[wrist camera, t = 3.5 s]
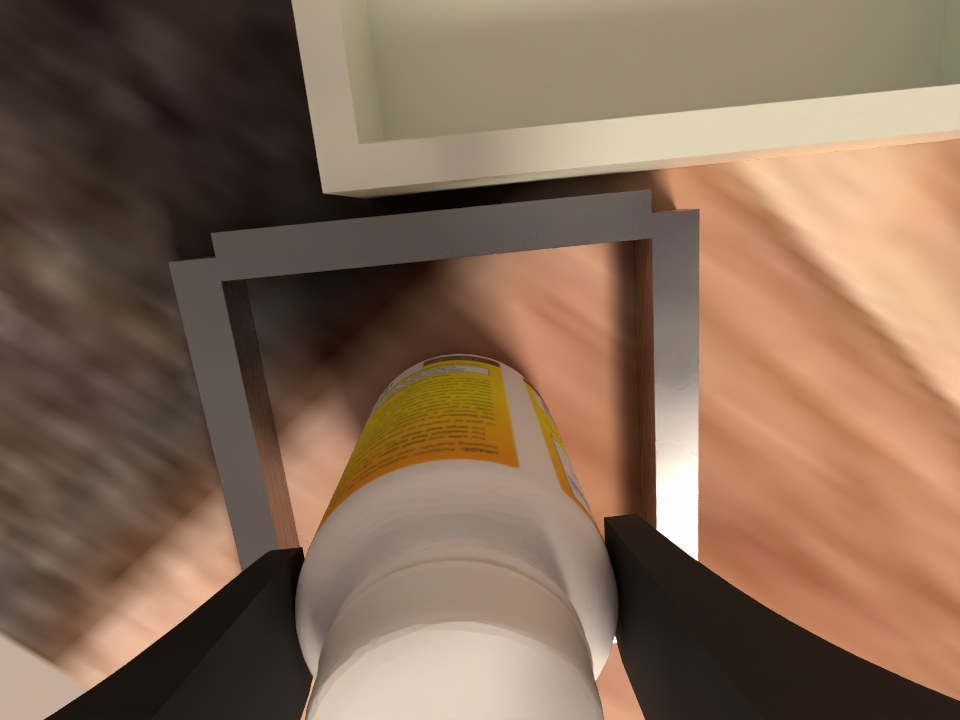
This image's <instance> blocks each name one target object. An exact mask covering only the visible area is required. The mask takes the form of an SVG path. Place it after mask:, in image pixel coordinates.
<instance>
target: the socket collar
mask: <svg viewBox="0 0 960 720" xmlns="http://www.w3.org/2000/svg"><path fill="white" fill-rule="evenodd" d="M211 237H212V242H213V247H214V251H215V256H205V257H196V258H190V259H184V260H178V261H173V262H168V263H169V267H170V271H171V276H172V280H173V284H174V288H175V292H176V297H177V301H178V305H179V309H180V313H181V318H182V322H183V326H184V330H185V334H186V338H187V343H188V347H189V351H190V355H191V359H192V364H193V368H194V372H195V376H196V380H197V384H198V389H199V393H200V397H201V401H202V405H203V410H204V414H205V418H206V422H207V426H208V430H209V435H210V439H211V443H212V447H213V451H214V456H215V460H216V464H217V468H218V472H219V477H220V481H221V485H222V489H223V493H224V497H225V502H226V506H227V510H228V514H229V518H230V523H231V527H232V531H233V535H234V539H235V543H236V548H237V552H238V556H239V560H240V564H241V569H242V572H243V571H244V570H245V569H246V568H247V567H249V566H250V565H251V564H252V563H254V562H255V561H256V560H257V559H259V558H260V557H261V556H263V555H264V554H266V553H267V552H268V551H270V550H279V549H289V548H299V542H298V537H297V532H296V527H295V522H294V518H293V513H292V508H291V503H290V498H289V493H288V488H287V484H286V479H285V474H284V469H283V464H282V459H281V454H280V449H279V445H278V440H277V435H276V430H275V425H274V420H273V415H272V411H271V406H270V401H269V396H268V391H267V386H266V381H265V376H264V372H263V367H262V362H261V357H260V352H259V347H258V342H257V338H256V333H255V328H254V323H253V318H252V313H251V308H250V303H249V299H248V294H247V289H246V284H245V279H249V278H259V277H269V276H279V275H289V274H299V273H309V272H319V271H329V270H339V269H349V268H359V267H369V266H379V265H389V264H399V263H409V262H419V261H429V260H439V259H449V258H459V257H469V256H479V255H489V254H499V253H509V252H519V251H529V250H539V249H549V248H559V247H569V246H579V245H589V244H599V243H609V242H619V241H629V240H635V260H636V301H637V343H638V384H639V425H640V467H641V508H642V519H644V520H645V521H646V522H648V523H649V524H650V525H651V526H653V527H654V528H655V529H657V530H658V531H659V532H660V533H662V534H663V535H664V536H666V537H667V538H668V539H669V540H671V541H672V542H673V543H675V544H676V545H677V546H679V547H680V548H681V549H682V550H684V551H685V552H686V553H688V554H689V555H690V556H692V557H693V558H694V559H696V560H697V561H698V388H699V209H675V210H665V211H655V212H652V193H651V189H646V190H636V191H626V192H616V193H606V194H596V195H586V196H576V197H566V198H556V199H546V200H536V201H526V202H516V203H506V204H496V205H486V206H476V207H466V208H456V209H446V210H436V211H426V212H416V213H406V214H396V215H386V216H376V217H366V218H356V219H346V220H336V221H326V222H316V223H306V224H297V225H287V226H277V227H267V228H257V229H247V230H237V231H227V232H217V233H211ZM616 642H617V641H616V638H615V637H614V641H613V643H616Z"/></svg>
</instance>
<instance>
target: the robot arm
mask: <svg viewBox="0 0 960 720" xmlns="http://www.w3.org/2000/svg"><path fill="white" fill-rule="evenodd" d="M604 528H605V546H606V548H607V551H608V554H609V557H610V561H611V564H612V567H613V570H614V574H615V578H616V583H617V591H618V620H617V627H616V632H615V638H616V641H617V645H618V648H619V652H620V655H621V659H622V662H623V665H624V668H625V670H626V673H627V675H628V678H629V680H630V683H631V685H632V688H633V690H634V693H635V695H636V698H637V700H638V703H639V705H640V708H641V710H642V713H643V715H644V718H645V720H960V701H959V700H956V699H953V698H951V697H948V696H946V695H944V694H941V693H939V692H936V691H934V690H932V689H929V688H927V687H924V686H922V685H920V684H917V683H915V682H912V681H910V680H908V679H906V678H903V677H901V676H899V675H897V674H895V673H893V672H890V671H888V670H886V669H884V668H882V667H879V666H877V665H875V664H873V663H871V662H869V661H866V660H864V659H862V658H860V657H858V656H856V655H854V654H852V653H850V652H848V651H846V650H844V649H842V648H840V647H838V646H836V645H834V644H832V643H830V642H828V641H826V640H824V639H822V638H820V637H819V636H817V635H815V634H813V633H811V632H809V631H808V630H806V629H804V628H802V627H800V626H798V625H797V624H795V623H793V622H791V621H789V620H787V619H786V618H784V617H782V616H781V615H779V614H777V613H775V612H774V611H772V610H770V609H769V608H767V607H765V606H764V605H762V604H761V603H759V602H758V601H756V600H755V599H753V598H751V597H750V596H748V595H747V594H745V593H744V592H742V591H740V590H739V589H737V588H736V587H734V586H733V585H731V584H730V583H728V582H727V581H725V580H724V579H723V578H721V577H720V576H718V575H717V574H715V573H714V572H712V571H711V570H710V569H708V568H707V567H705V566H704V565H703V564H701V563H700V562H699V561H697V560H696V559H694V558H693V557H692V556H690V555H689V554H688V553H686V552H685V551H684V550H682V549H681V548H680V547H679V546H677V545H676V544H675V543H673V542H672V541H671V540H669V539H668V538H667V537H666V536H664V535H663V534H662V533H660V532H659V531H658V530H657V529H655V528H654V527H653V526H651V525H650V524H649V523H648V522H646V521H645V520H644V519H642V518H641V517H640V516H638V515H637V514H634V515H623V516H613V517H604ZM304 560H305V558H304V553H303V548H302V547H299V548H289V549H279V550H270V551H268V552H267V553H266V554H264V555H263V556H261V557H260V558H259V559H257V560H256V561H255V562H254V563H252V564H251V565H250V566H249V567H247V568H246V569H245V570H244V571H243V572H241V573H240V574H239V575H238V576H236V577H235V578H234V579H233V580H232V581H230V582H229V583H228V584H227V585H226V586H224V587H223V588H222V589H221V590H220V591H218V592H217V593H216V594H215V595H214V596H212V597H211V598H210V599H209V600H208V601H206V602H205V603H204V604H203V605H201V606H200V607H199V608H198V609H197V610H195V611H194V612H193V613H192V614H190V615H189V616H188V617H187V618H186V619H184V620H183V621H182V622H181V623H179V624H178V625H177V626H175V627H174V628H173V629H171V630H170V631H169V632H168V633H166V634H165V635H164V636H162V637H161V638H160V639H158V640H157V641H156V642H155V643H153V644H152V645H151V646H149V647H148V648H147V649H145V650H144V651H143V652H141V653H140V654H139V655H138V656H136V657H135V658H134V659H132V660H131V661H130V662H128V663H127V664H126V665H124V666H123V667H122V668H120V669H119V670H117V671H116V672H115V673H113V674H112V675H110V676H109V677H107V678H106V679H105V680H103V681H102V682H100V683H99V684H97V685H96V686H95V687H93V688H92V689H90V690H89V691H87V692H86V693H84V694H82V695H81V696H79V697H78V698H76V699H75V700H73V701H72V702H70V703H69V704H67V705H66V706H64V707H63V708H61V709H60V710H58V711H57V712H55V713H54V714H52V715H51V716H49V717H47V718H46V719H44V720H300V719H301V716H302V713H303V711H304V708H305V705H306V701H307V698H308V695H309V692H310V688H311V683H312V679H313V676H312V674H311V672H310V670H309V668H308V666H307V664H306V662H305V660H304V657H303V653H302V650H301V647H300V644H299V639H298V635H297V630H296V620H295V599H296V591H297V585H298V579H299V576H300V572H301V569H302V566H303V563H304Z"/></svg>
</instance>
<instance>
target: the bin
mask: <svg viewBox="0 0 960 720" xmlns="http://www.w3.org/2000/svg"><path fill="white" fill-rule="evenodd" d="M291 1H292V7H293V13H294V19H295V25H296V31H297V38H298V44H299V50H300V56H301V62H302V68H303V74H304V81H305V87H306V93H307V99H308V105H309V111H310V117H311V124H312V130H313V136H314V142H315V148H316V154H317V160H318V167H319V173H320V179H321V185H322V191H323V193H324V194H332V195H340V196H349V197H357V198H365V199H368V198H378V197H388V196H398V195H408V194H418V193H428V192H438V191H448V190H458V189H468V188H478V187H488V186H497V185H507V184H517V183H527V182H537V181H547V180H557V179H567V178H577V177H587V176H597V175H607V174H617V173H627V172H637V171H647V170H657V169H667V168H677V167H687V166H697V165H707V164H717V163H727V162H737V161H747V160H757V159H767V158H777V157H787V156H797V155H807V154H817V153H827V152H837V151H847V150H857V149H867V148H877V147H887V146H897V145H907V144H917V143H927V142H937V141H944V140H951V139H957V138H960V0H291Z"/></svg>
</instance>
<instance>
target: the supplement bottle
mask: <svg viewBox="0 0 960 720" xmlns="http://www.w3.org/2000/svg"><path fill="white" fill-rule="evenodd" d="M295 620H296V630H297V635H298V639H299V644H300V647H301V650H302V653H303V657H304V660H305V662H306V664H307V666H308V668H309V670H310V672H311V674H312V676H313V677H314V679H315V683H314V686H313V690H312V693H311V696H310V699H309V703H308V706H307V710H306V717H305V720H604V716H603V710H602V704H601V700H600V696H599V693H598V689H597V685H596V682H595V681H596V679H597V677H598V676H599V674H600V672H601V670H602V668H603V667H604V665H605V663H606V661H607V659H608V656H609V653H610V651H611V648H612V644H613V641H614V637H615V632H616V627H617V620H618V591H617V583H616V578H615V574H614V570H613V567H612V564H611V561H610V557H609V554H608V551H607V548H606V546H605V543H604V541H603V538H602V536H601V534H600V532H599V529H598V527H597V524H596V522H595V519H594V517H593V515H592V513H591V510H590V508H589V506H588V503H587V500H586V498H585V495H584V493H583V491H582V488H581V486H580V484H579V481H578V478H577V476H576V474H575V471H574V469H573V466H572V464H571V461H570V459H569V457H568V454H567V452H566V450H565V447H564V445H563V443H562V440H561V438H560V436H559V433H558V431H557V428H556V426H555V423H554V421H553V419H552V417H551V415H550V412H549V410H548V408H547V406H546V404H545V402H544V401H543V399H542V397H541V396H540V394H539V393H538V391H537V390H536V389H535V388H534V387H533V385H532V384H531V383H530V382H529V381H528V380H527V379H526V378H524V377H523V376H522V375H521V374H520V373H518V372H517V371H515V370H514V369H512V368H511V367H509V366H507V365H505V364H503V363H501V362H499V361H496V360H494V359H491V358H487V357H483V356H478V355H472V354H450V355H442V356H436V357H433V358H430V359H427V360H424V361H422V362H420V363H417V364H416V365H414V366H412V367H410V368H408V369H407V370H406V371H404V372H403V373H401V374H400V375H399V376H398V377H396V378H395V379H394V380H393V381H392V382H391V383H390V384H389V385H388V387H387V388H386V389H385V390H384V391H383V393H382V394H381V396H380V397H379V399H378V400H377V402H376V404H375V405H374V407H373V409H372V412H371V414H370V416H369V418H368V420H367V422H366V424H365V427H364V429H363V431H362V433H361V435H360V437H359V440H358V442H357V444H356V446H355V448H354V451H353V453H352V455H351V457H350V459H349V462H348V464H347V466H346V468H345V470H344V473H343V475H342V477H341V479H340V481H339V484H338V486H337V488H336V490H335V492H334V494H333V497H332V499H331V501H330V503H329V506H328V508H327V510H326V512H325V514H324V516H323V519H322V521H321V523H320V525H319V528H318V530H317V532H316V534H315V536H314V538H313V541H312V543H311V545H310V547H309V549H308V552H307V555H306V557H305V560H304V563H303V566H302V569H301V572H300V576H299V579H298V585H297V591H296V599H295Z"/></svg>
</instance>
